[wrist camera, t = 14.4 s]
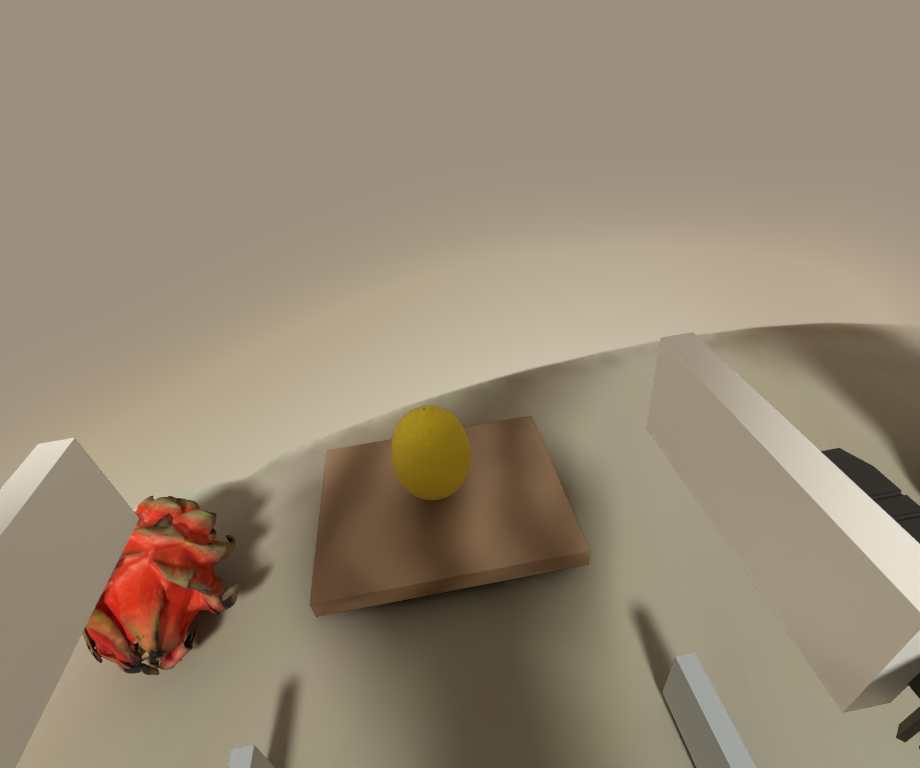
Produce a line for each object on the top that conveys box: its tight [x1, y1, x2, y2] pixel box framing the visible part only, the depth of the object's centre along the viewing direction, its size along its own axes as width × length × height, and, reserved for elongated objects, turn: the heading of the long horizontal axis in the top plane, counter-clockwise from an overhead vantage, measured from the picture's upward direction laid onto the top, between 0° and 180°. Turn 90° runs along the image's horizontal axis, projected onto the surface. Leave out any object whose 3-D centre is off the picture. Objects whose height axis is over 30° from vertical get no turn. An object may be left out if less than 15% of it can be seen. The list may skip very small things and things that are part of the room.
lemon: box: [391, 406, 471, 500], centre depth 34 cm, size 6×6×8 cm
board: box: [310, 416, 590, 617], centre depth 36 cm, size 18×14×2 cm
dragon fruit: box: [82, 496, 240, 675], centre depth 30 cm, size 8×8×12 cm
